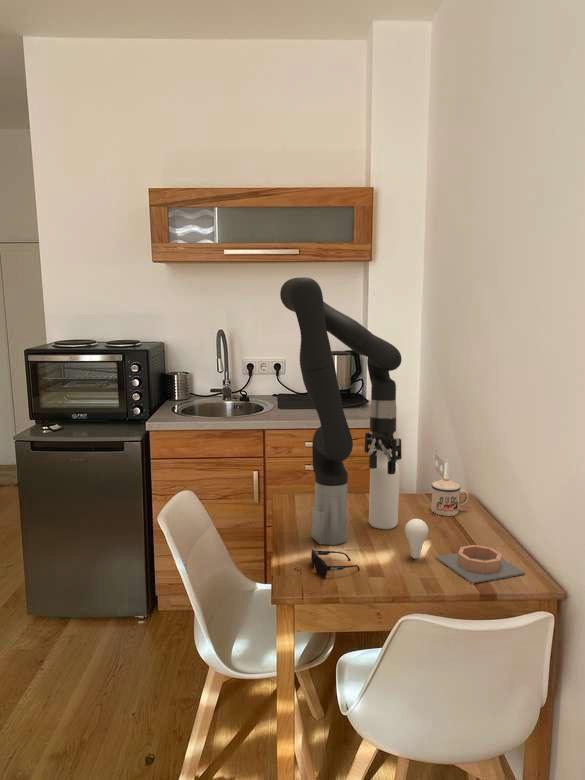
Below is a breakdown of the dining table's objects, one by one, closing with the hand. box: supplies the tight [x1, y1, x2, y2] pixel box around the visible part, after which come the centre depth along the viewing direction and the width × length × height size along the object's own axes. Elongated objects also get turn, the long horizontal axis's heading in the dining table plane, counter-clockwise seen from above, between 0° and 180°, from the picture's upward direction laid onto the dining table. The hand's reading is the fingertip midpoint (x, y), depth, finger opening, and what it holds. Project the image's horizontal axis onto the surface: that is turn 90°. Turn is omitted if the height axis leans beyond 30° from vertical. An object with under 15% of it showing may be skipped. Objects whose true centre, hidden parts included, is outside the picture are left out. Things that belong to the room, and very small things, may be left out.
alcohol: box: [368, 449, 400, 530], centre depth 193 cm, size 9×9×30 cm
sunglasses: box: [311, 548, 360, 578], centre depth 165 cm, size 10×12×5 cm
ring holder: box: [435, 544, 526, 584], centre depth 166 cm, size 16×16×4 cm
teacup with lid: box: [430, 476, 469, 517], centre depth 207 cm, size 12×9×12 cm
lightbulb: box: [404, 518, 429, 560], centre depth 170 cm, size 6×6×11 cm
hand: (382, 471), depth 184 cm, fingers open, 8 cm apart
